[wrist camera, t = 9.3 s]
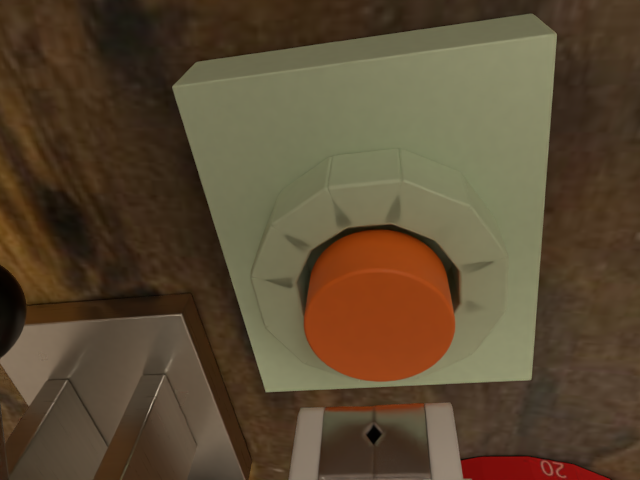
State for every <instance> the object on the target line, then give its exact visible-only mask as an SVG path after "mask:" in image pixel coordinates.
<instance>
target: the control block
mask: <svg viewBox="0 0 640 480" xmlns="http://www.w3.org/2000/svg"><path fill="white" fill-rule="evenodd" d="M556 41H557V34H556V33H555V32H554V31H553V30H552V29H551V28H549V27H548V26H547V25H546V24H544V23H543V22H542V21H541V20H540V19H538V18H537V17H536V16H535V15H534V14H525V15H518V16H511V17H504V18H497V19H490V20H483V21H476V22H469V23H462V24H456V25H449V26H442V27H435V28H428V29H421V30H414V31H407V32H400V33H393V34H386V35H380V36H373V37H366V38H359V39H352V40H345V41H338V42H331V43H324V44H317V45H310V46H303V47H297V48H290V49H283V50H276V51H269V52H262V53H255V54H248V55H241V56H234V57H227V58H220V59H214V60H207V61H200V62H196V63H195V64H194V65H193V66H192V67H191V68H190V69H189V70H188V71H187V72H186V73H185V74H184V75H183V76H182V77H181V78H180V79H179V80H178V81H177V82H176V83H175V84H174V85H173V86H172V89H173V92H174V95H175V99H176V102H177V105H178V108H179V112H180V115H181V118H182V121H183V125H184V128H185V131H186V134H187V138H188V141H189V144H190V147H191V151H192V154H193V157H194V160H195V164H196V167H197V170H198V173H199V177H200V180H201V183H202V186H203V190H204V193H205V196H206V199H207V203H208V206H209V209H210V212H211V216H212V219H213V222H214V225H215V229H216V232H217V235H218V238H219V242H220V245H221V248H222V251H223V255H224V258H225V261H226V264H227V268H228V271H229V274H230V277H231V281H232V284H233V287H234V290H235V294H236V297H237V300H238V303H239V307H240V310H241V313H242V316H243V320H244V323H245V326H246V329H247V333H248V336H249V339H250V342H251V346H252V349H253V352H254V355H255V359H256V362H257V365H258V368H259V372H260V375H261V378H262V381H263V385H264V388H265V391H266V392H281V391H302V390H324V389H346V388H368V387H390V386H412V385H434V384H455V383H477V382H499V381H521V380H531V379H532V366H533V353H534V339H535V325H536V312H537V298H538V285H539V271H540V258H541V244H542V231H543V217H544V203H545V190H546V176H547V163H548V149H549V136H550V122H551V108H552V95H553V81H554V68H555V54H556ZM372 229H384V230H393V231H398V232H401V233H405V234H408V235H410V236H412V237H415V238H417V239H418V240H420V241H422V242H423V243H425V244H426V245H427V246H428V247H430V248H431V249H432V250H433V251H434V252H435V253H436V254H437V256H438V257H439V259H440V260H441V261H442V264H443V266H444V268H445V271H446V274H447V278H448V284H449V289H450V294H451V300H452V305H453V310H454V315H455V333H454V337H453V340H452V342H451V345H450V347H449V348H448V350H447V352H446V353H445V354H444V356H443V357H442V358H441V359H440V360H439V361H438V362H437V363H436V364H435V365H433V366H432V367H430V368H429V369H427V370H425V371H423V372H422V373H420V374H417V375H415V376H412V377H409V378H405V379H401V380H396V381H387V382H375V381H365V380H360V379H356V378H352V377H349V376H346V375H344V374H341V373H339V372H337V371H335V370H334V369H332V368H330V367H329V366H327V365H326V364H325V363H324V362H323V361H321V360H320V359H319V358H318V357H317V355H316V354H315V353H314V352H313V350H312V349H311V347H310V345H309V343H308V341H307V338H306V335H305V332H304V314H305V307H306V301H307V295H308V288H309V282H310V276H311V272H312V269H313V266H314V264H315V262H316V261H317V259H318V257H319V256H320V255H321V254H322V252H323V251H324V250H325V249H327V248H328V247H329V246H330V245H331V244H333V243H334V242H335V241H337V240H339V239H341V238H342V237H344V236H347V235H349V234H352V233H355V232H359V231H364V230H372Z"/></svg>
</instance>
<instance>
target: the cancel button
mask: <svg viewBox="0 0 640 480" xmlns="http://www.w3.org/2000/svg"><path fill="white" fill-rule="evenodd" d="M304 332H305V335H306V338H307V341H308V343H309V345H310V347H311V349H312V350H313V352H314V353H315V354H316V355H317V357H318V358H319V359H320V360H321V361H323V362H324V363H325V364H326V365H327V366H329V367H330V368H332V369H334V370H335V371H337V372H339V373H341V374H344V375H346V376H349V377H352V378H356V379H360V380H365V381H375V382H387V381H396V380H401V379H405V378H409V377H412V376H415V375H417V374H420V373H422V372H423V371H425V370H427V369H429V368H430V367H432V366H433V365H435V364H436V363H437V362H438V361H439V360H440V359H441V358H442V357H443V356H444V354H445V353H446V352H447V350H448V348H449V347H450V345H451V342H452V340H453V337H454V333H455V315H454V310H453V305H452V300H451V294H450V289H449V284H448V278H447V274H446V271H445V268H444V266H443V264H442V261H441V260H440V259H439V257H438V256H437V254H436V253H435V252H434V251H433V250H432V249H431V248H430V247H428V246H427V245H426V244H425V243H423V242H422V241H420V240H418V239H417V238H415V237H412V236H410V235H408V234H405V233H401V232H398V231H393V230H384V229H372V230H364V231H359V232H355V233H352V234H349V235H347V236H344V237H342V238H341V239H339V240H337V241H335V242H334V243H333V244H331V245H330V246H329V247H328V248H327V249H325V250H324V251H323V252H322V254H321V255H320V256H319V257H318V259H317V261H316V262H315V264H314V266H313V269H312V272H311V276H310V282H309V288H308V295H307V301H306V307H305V314H304Z"/></svg>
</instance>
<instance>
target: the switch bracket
mask: <svg viewBox="0 0 640 480" xmlns="http://www.w3.org/2000/svg"><path fill="white" fill-rule="evenodd" d="M26 308H27V312H26V320H25V325H24V328H23V331H22V333H21V335H20V337H19V338H18V340H17V341H16V343H15V345H14V346H13V347H12V348H11V349H10V350H9V351H8V352H7V353H6V354H5V355H4V356H3V357H2V358H1V359H0V364H1V365H2V367H3V368H4V370H5V371H6V373H7V374H8V376H9V377H10V379H11V380H12V382H13V383H14V385H15V386H16V388H17V389H18V391H19V392H20V394H21V395H22V397H23V398H24V400H25V401H26V403H27V404H28V406H29V408H28V409H27V411H26V412H25V414H24V415H23V417H22V418H21V420H20V421H19V423H18V424H17V426H16V427H15V429H14V431H13V432H12V434H11V435H10V437H9V438H8V440H7V441H6V443H5V449H6V457H7V466H8V474H9V480H248V478H249V474H250V469H251V464H252V460H251V457H250V454H249V452H248V449H247V446H246V443H245V441H244V438H243V435H242V432H241V430H240V427H239V424H238V421H237V419H236V416H235V413H234V410H233V408H232V405H231V402H230V399H229V397H228V394H227V391H226V388H225V386H224V383H223V380H222V377H221V375H220V372H219V369H218V366H217V364H216V361H215V358H214V355H213V353H212V350H211V347H210V344H209V342H208V339H207V336H206V333H205V331H204V328H203V325H202V322H201V320H200V317H199V314H198V311H197V309H196V306H195V303H194V300H193V298H192V295H191V294H190V293H187V294H174V295H161V296H148V297H135V298H122V299H109V300H96V301H82V302H69V303H56V304H43V305H30V306H26Z"/></svg>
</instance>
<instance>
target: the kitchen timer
mask: <svg viewBox="0 0 640 480" xmlns="http://www.w3.org/2000/svg"><path fill="white" fill-rule="evenodd" d="M461 467H462V474H463V479H472V480H611V479H609V478H606V477H604V476H601V475H599V474H596V473H594V472H591V471H589V470H586V469H584V468H581V467H579V466H576V465H574V464H569V463H563V462H557V461H551V460H545V459H540V458H534V457H528V456H526V457H477V458H471V459H466V460H461Z"/></svg>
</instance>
